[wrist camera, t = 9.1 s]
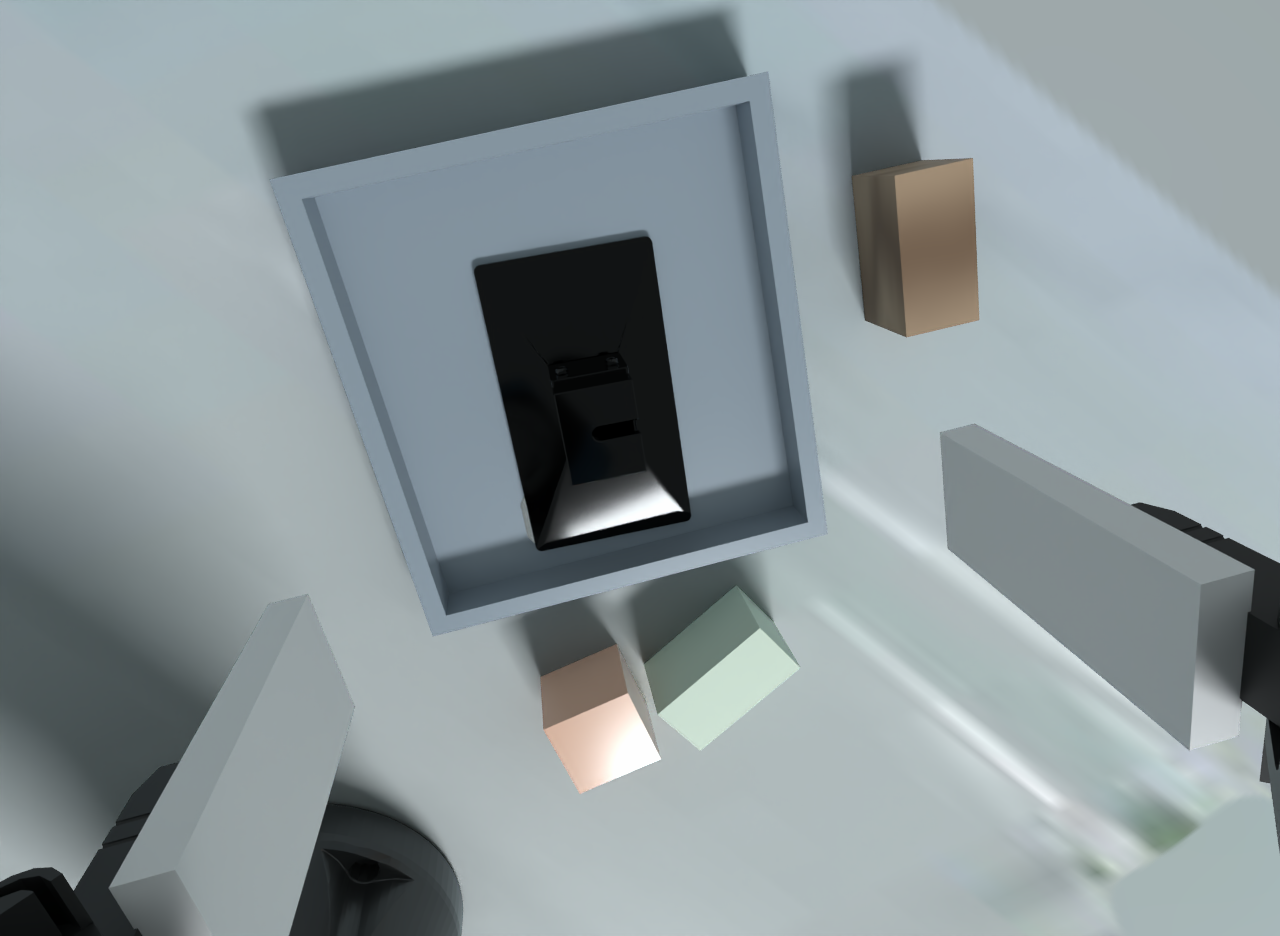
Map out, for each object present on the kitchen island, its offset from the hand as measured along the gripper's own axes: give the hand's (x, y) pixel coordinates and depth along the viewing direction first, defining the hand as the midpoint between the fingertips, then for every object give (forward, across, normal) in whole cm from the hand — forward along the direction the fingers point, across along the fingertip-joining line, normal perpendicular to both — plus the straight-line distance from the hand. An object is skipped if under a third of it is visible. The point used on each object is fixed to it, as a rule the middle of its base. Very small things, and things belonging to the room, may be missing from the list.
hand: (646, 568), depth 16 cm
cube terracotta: (+18, -3, -16) cm, 25 cm away
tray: (+18, 0, 0) cm, 18 cm away
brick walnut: (+18, +14, +2) cm, 23 cm away
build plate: (+18, 0, -1) cm, 18 cm away
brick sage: (+18, +3, -15) cm, 24 cm away
